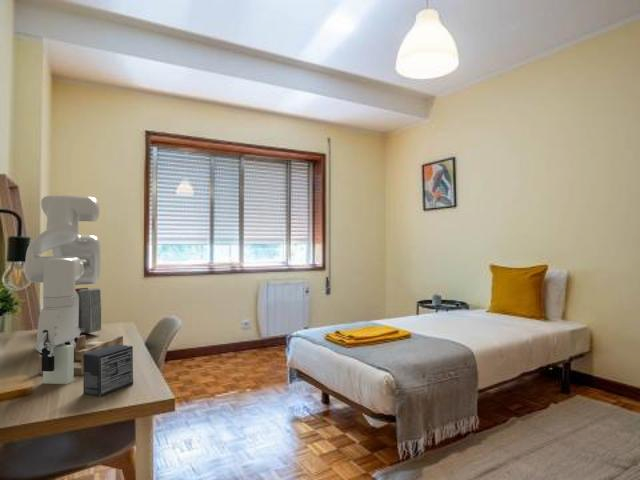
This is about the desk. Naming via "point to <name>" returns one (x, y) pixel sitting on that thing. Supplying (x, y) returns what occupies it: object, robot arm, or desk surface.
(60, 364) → the white box
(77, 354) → the offcut
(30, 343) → the desk surface
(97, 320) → the decorative stone tablet
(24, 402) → the desk surface
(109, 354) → the small box
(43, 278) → the robot arm
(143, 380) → the desk surface
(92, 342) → the offcut
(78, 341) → the rack
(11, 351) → the desk surface
